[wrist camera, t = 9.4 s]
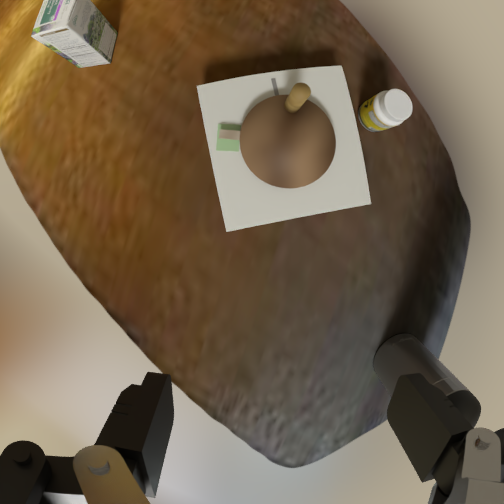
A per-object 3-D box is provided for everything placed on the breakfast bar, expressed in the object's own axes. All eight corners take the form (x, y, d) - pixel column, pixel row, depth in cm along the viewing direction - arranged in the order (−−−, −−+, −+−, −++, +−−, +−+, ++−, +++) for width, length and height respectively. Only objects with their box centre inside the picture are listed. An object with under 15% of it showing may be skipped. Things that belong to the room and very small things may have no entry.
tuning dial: (336, 104, 33) (356, 89, 27) (328, 193, 36) (348, 196, 29) (224, 90, 33) (221, 70, 26) (215, 181, 35) (208, 181, 28)
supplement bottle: (373, 95, 38) (399, 79, 30) (393, 121, 39) (422, 111, 31) (350, 111, 39) (374, 97, 30) (370, 138, 39) (398, 130, 31)
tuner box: (357, 201, 41) (371, 204, 36) (228, 226, 41) (226, 231, 37) (331, 77, 37) (341, 65, 32) (201, 96, 38) (196, 85, 33)
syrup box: (86, 37, 34) (41, -1, 20) (119, 32, 35) (79, -13, 20) (79, 68, 35) (27, 36, 21) (112, 64, 36) (66, 25, 22)
